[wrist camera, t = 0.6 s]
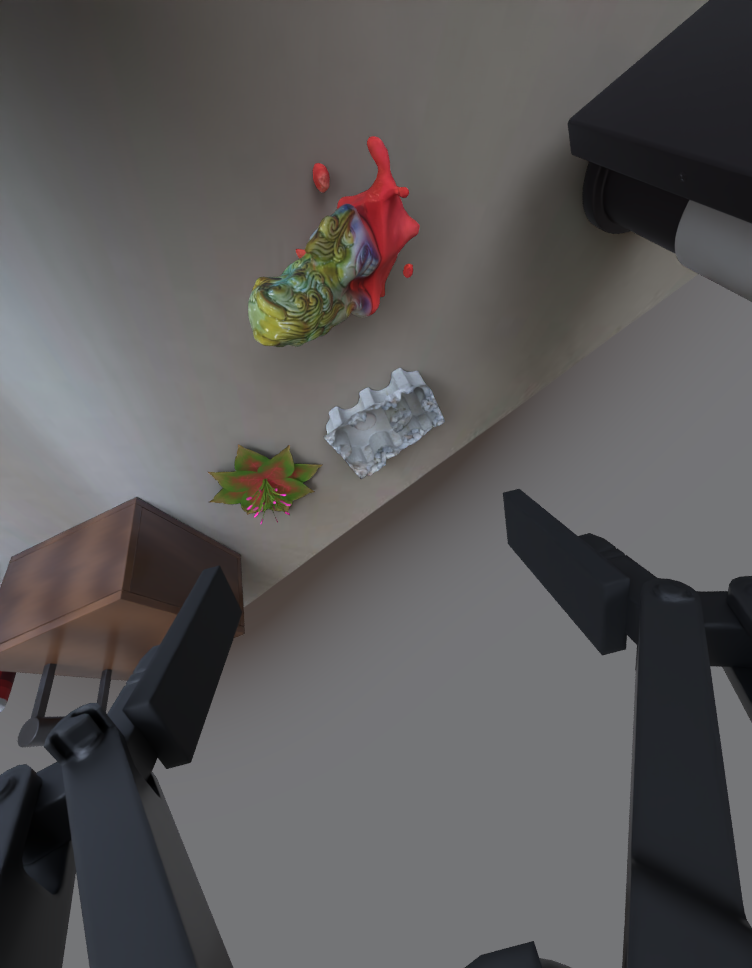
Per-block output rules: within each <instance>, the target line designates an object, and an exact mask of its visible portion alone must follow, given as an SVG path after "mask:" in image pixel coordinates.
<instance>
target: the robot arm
mask: <svg viewBox="0 0 752 968" xmlns="http://www.w3.org/2000/svg"><path fill="white" fill-rule="evenodd" d="M503 499H504V509H505V518H506V529H507V539H508V544H509V545H510V547H511V548H512V549H513V550H514V551H515V553H516V554H517V555H518V556H519V557H520V558H521V560H522V561H523V562H524V563H525V565H526V566H527V567H528V568H529V569H530V570H531V572H532V573H533V574H534V575H535V576H536V578H537V579H538V580H539V581H540V582H541V583H542V585H543V586H544V587H545V588H546V589H547V591H548V592H549V593H550V594H551V595H552V596H553V598H554V599H555V600H556V601H557V602H558V604H559V605H560V606H561V607H562V608H563V609H564V610H565V612H566V613H567V614H568V615H569V617H570V618H571V619H572V620H573V621H574V623H575V624H576V625H577V626H578V627H579V628H580V630H581V631H582V632H583V633H584V634H585V636H586V637H587V638H588V639H589V640H590V641H591V642H592V644H593V645H594V646H595V647H596V649H597V650H598V651H599V652H600V653H601V654H602V655H606V654H610V653H613V652H617V651H621V650H625V649H626V640H627V635H628V636H629V637H630V638H631V639H632V640H633V641H634V642H635V643H636V644H637V655H636V669H635V670H636V679H635V702H634V726H633V747H632V770H631V792H630V793H631V794H630V815H629V838H628V860H627V884H626V907H625V927H624V944H623V962H622V968H752V928H751V926H750V924H749V923H748V921H747V919H746V916H745V913H744V906H743V901H742V893H741V886H740V880H739V872H738V865H737V858H736V850H735V843H734V836H733V828H732V821H731V815H730V807H729V800H728V792H727V785H726V779H725V771H724V763H723V756H722V749H721V742H720V734H719V727H718V721H717V713H716V706H715V698H714V691H713V684H712V677H711V669H710V666H721V667H723V669H724V671H725V673H726V675H727V677H728V679H729V680H730V682H731V684H732V686H733V688H734V690H735V692H736V694H737V695H738V697H739V699H740V701H741V703H742V705H743V707H744V709H745V711H746V712H747V714H748V716H749V718H750V720H751V722H752V576H744V577H738V578H735V579H733V580H732V581H731V583H730V584H729V589H728V591H719V592H718V591H716V592H715V591H714V592H698V591H695V590H694V589H693V588H691V587H690V586H688V585H686V584H684V583H682V582H679V581H675V580H671V579H661V578H657V577H655V576H654V575H653V574H651V573H650V572H649V571H647V570H646V569H644V568H643V567H642V566H640V565H639V564H638V563H636V562H635V561H634V560H632V559H631V558H630V557H628V556H627V555H625V554H624V553H623V552H622V551H620V550H619V549H616V548H615V546H613V545H612V544H611V543H609V542H608V541H607V540H605V539H604V538H601V537H598V536H596V535H593V534H591V533H588V534H584V535H581V536H577V535H576V534H574V533H573V532H572V531H571V530H569V529H568V528H567V527H566V526H565V525H563V524H562V523H561V522H560V521H558V520H557V519H556V518H554V517H553V516H552V515H551V514H550V513H548V512H547V511H546V510H545V509H544V508H542V507H541V506H540V505H539V504H537V503H536V502H535V501H534V500H532V499H531V498H530V497H529V496H527V495H526V494H525V493H524V492H523V491H521V490H520V489H517V490H513V491H509V492H505V493H503ZM241 615H242V610H241V608H240V606H239V604H238V602H237V600H236V598H235V595H234V593H233V591H232V589H231V587H230V585H229V583H228V581H227V579H226V577H225V575H224V573H223V571H222V568H221V566H220V565H219V566H216V567H212V568H208V569H204V570H203V571H202V573H201V575H200V576H199V578H198V580H197V581H196V583H195V585H194V587H193V588H192V590H191V592H190V594H189V595H188V597H187V599H186V600H185V602H184V604H183V606H182V607H181V609H180V611H179V613H178V614H177V616H176V618H175V620H174V621H173V623H172V625H171V626H170V628H169V630H168V632H167V633H166V635H165V637H164V639H163V640H162V642H161V644H160V645H157V646H153V647H152V648H151V649H150V650H149V651H148V652H147V653H146V654H145V655H144V656H143V657H142V658H141V660H140V661H139V663H138V665H137V666H136V668H135V669H134V671H133V675H131V676H130V678H129V679H128V681H127V683H126V686H124V687H123V689H122V691H121V692H120V694H119V696H118V697H117V699H116V701H115V702H114V704H113V705H112V707H111V709H110V710H109V712H108V714H106V712H105V711H104V710H103V709H102V707H101V706H100V705H99V704H98V703H89V704H86V705H83V706H81V707H79V708H77V709H75V710H74V711H72V712H70V713H69V714H68V715H67V716H65V717H64V718H63V719H62V720H60V721H59V722H58V723H57V725H56V726H55V727H54V728H53V729H52V730H51V731H50V733H49V734H48V736H47V738H46V739H45V744H44V748H46V750H47V751H48V752H49V753H50V754H51V755H52V756H53V757H54V758H55V759H56V760H57V761H58V762H56V763H54V764H52V765H50V766H48V767H46V768H44V769H43V770H41V771H39V772H37V773H36V772H35V771H34V770H33V769H31V767H29V766H28V765H26V764H24V765H18V766H16V767H13V768H11V769H9V770H7V771H6V772H4V773H3V774H1V775H0V968H62V963H63V957H64V949H65V943H66V935H67V929H68V922H69V915H70V909H71V901H72V894H73V887H74V881H75V874H76V873H77V880H78V888H79V895H80V902H81V909H82V916H83V923H84V930H85V937H86V944H87V952H88V959H89V966H90V968H233V966H232V963H231V961H230V958H229V956H228V954H227V951H226V948H225V946H224V944H223V941H222V938H221V936H220V934H219V931H218V929H217V926H216V924H215V921H214V919H213V916H212V914H211V911H210V909H209V906H208V904H207V901H206V899H205V896H204V894H203V891H202V889H201V886H200V884H199V882H198V879H197V877H196V874H195V872H194V869H193V867H192V864H191V862H190V859H189V857H188V854H187V852H186V849H185V847H184V844H183V842H182V839H181V837H180V834H179V832H178V830H177V827H176V825H175V822H174V820H173V817H172V814H171V812H170V810H169V807H168V805H167V802H166V800H165V797H164V795H163V792H162V790H161V787H160V785H159V782H158V780H157V778H156V776H155V775H154V774H153V772H152V769H153V767H154V765H155V763H156V760H157V758H159V760H160V761H161V762H162V764H163V765H164V766H165V768H166V769H169V768H172V767H176V766H180V765H184V764H187V763H190V762H191V761H192V758H193V755H194V752H195V749H196V746H197V743H198V740H199V737H200V734H201V731H202V729H203V725H204V723H205V720H206V717H207V714H208V711H209V708H210V705H211V702H212V699H213V696H214V694H215V691H216V688H217V685H218V682H219V679H220V676H221V673H222V670H223V667H224V665H225V662H226V659H227V656H228V653H229V650H230V647H231V644H232V641H233V638H234V636H235V633H236V630H237V627H238V624H239V621H240V618H241ZM465 968H570V967H569V966H566V965H563V964H561V963H558V962H555V961H552V960H546V959H541V958H539V956H538V953H537V950H536V947H535V944H534V941H532V942H529V943H525V944H521V945H517V946H513V947H509V948H506V949H502V950H498V951H494V952H491V953H487V954H484V955H481V956H479V957H478V958H477V959H475V960H474V961H473V962H472V963H470V964H469V965H468V966H466V967H465Z"/></svg>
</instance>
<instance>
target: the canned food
mask: <svg viewBox="0 0 752 968" xmlns="http://www.w3.org/2000/svg"><path fill="white" fill-rule="evenodd" d="M15 675H16V672H7V671H0V712H1V711H3V710H4V708H5V705H6V703H7V701H8V698H9V694H10V692H11V688H12V685H13V682H14V678H15Z"/></svg>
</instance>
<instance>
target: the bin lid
mask: <svg viewBox="0 0 752 968" xmlns="http://www.w3.org/2000/svg"><path fill="white" fill-rule="evenodd" d="M180 609H181V608H179V607H176V606H172V605H169V604H166V603H162V602H159V601H156V600H152V599H149V598H146V597H142V596H139V595H136V594H133V593H129V592H126V591H123V590H121V591H119V592H117V593H114V594H112V595H110V596H108V597H105V598H103V599H101V600H99V601H96V602H94V603H92V604H90V605H87V606H85V607H83V608H81V609H79V610H76V611H74V612H72V613H70V614H67V615H65V616H63V617H61V618H58V619H56V620H54V621H52V622H49V623H47V624H45V625H43V626H40V627H38V628H36V629H34V630H32V631H29V632H27V633H25V634H23V635H20V636H18V637H16V638H14V639H11V640H9V641H7V642H5V643H2V644H0V671H7V672H20V673H21V672H22V673H33V674H42V677H41V681H40V685H39V689H38V692H37V696H36V700H35V704H34V708H33V712H32V716H31V719H29V720H28V721H27V722H26V723H25V724H24V725H23V727H22V729H21V730H20V733H19V736H18V745H19V746H20V747H32V746H33V747H34V746H44V744H45V739H46V738H47V736H48V734H49V733H50V731H51V730H52V729H53V728H54V727H55V726H56V725H57V723H58V722H59V721H60V720H62V719H63V718H64V717H44V716H45V712H46V708H47V704H48V700H49V695H50V691H51V687H52V683H53V679H54V675H60V676H73V677H86V678H99V679H101V681H100V687H99V693H98V699H97V703H98V704H99V705H100V706H101V707H102V709H103V710H104V711H105V712H106V708H107V701H108V694H109V688H110V681H111V679H113V680H126V681H128V679H129V678H130V676H131V675H133V671H134V669H135V668H136V666H137V665H138V663H139V661H140V660H141V658H142V657H143V656H144V655H145V654H146V653H147V652H148V651H149V650H150V649H151V648H152V647H153V646H157V645H160V644H161V642H162V640H163V639H164V637H165V635H166V633H167V632H168V630H169V628H170V626H171V625H172V623H173V621H174V620H175V618H176V616H177V614H178V613H179V611H180ZM243 634H245V629H244V627H242V626H239V625H238V627H237V630H236V633H235V636H234V638H235V637H238V636H240V635H243Z"/></svg>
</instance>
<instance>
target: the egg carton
mask: <svg viewBox="0 0 752 968" xmlns="http://www.w3.org/2000/svg"><path fill="white" fill-rule="evenodd" d="M391 376H392V377H391V381H390V384H389V386H388V387H386V388H385V389H383V390H380V391H375V390H372V389H370V388H369V387H368V388H365V389H364V390H362V391H360V393H359V396H360V399H359V402H358V404H357V405H356V406H355V407H353V408H351V409H347V410H345V409H341V408H339V407H334V408H333V409H332V410H331V411H330V412H329V416H330V420H329V422H328V423H327V425H326V430H327V434H328V435H326V436H323V437H324V438H325V439H326V441H327V442H328V443H329V444H330V445H331V446H332V447H333V448H334V449H335V450H336V452H337V453H338V454H340V455H341V456H342V457H343V458H344V460H345V461H346V462H347V463H348V465H349V466H350V467H351V469H352V470H353V471H354V472H355V473H356V474H357V475H358V476H359V477H360V479H362V478H365V477H366V476H367V475H368V476H370V475H372V474H373V473H374V472H375V471H379V469H381V468H382V467H383V466H384V465H385V464H386V460H387V459H388V458H391V457H393V456H396V455H398V454H399V452H400V451H401V450H403V449H404V448H406V447H407V446H408V445H411V444H413V443H416V442H417V441H418V440H419V439H420V438H422V437H423V436H424V435H425V434H426V433H427V432H428V431H430V430H431V429H432V428H433V426H434V427H436V426H439V425H441V424H443V422H445V420H444V418H443V415H442V413H441V412H440V409H439V406H438V405H437V402H436V400H435V398H434V396H433V393H432V391H431V389H430V388H429V387H428V386H427V385H426V384H425V383H424V381H423V379H422V377H421V376H420V374H419V372H418V371H414V372H406V371H404V370H403V369H402V368H398V369H397V370H395V371H394V372H392V374H391Z"/></svg>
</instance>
